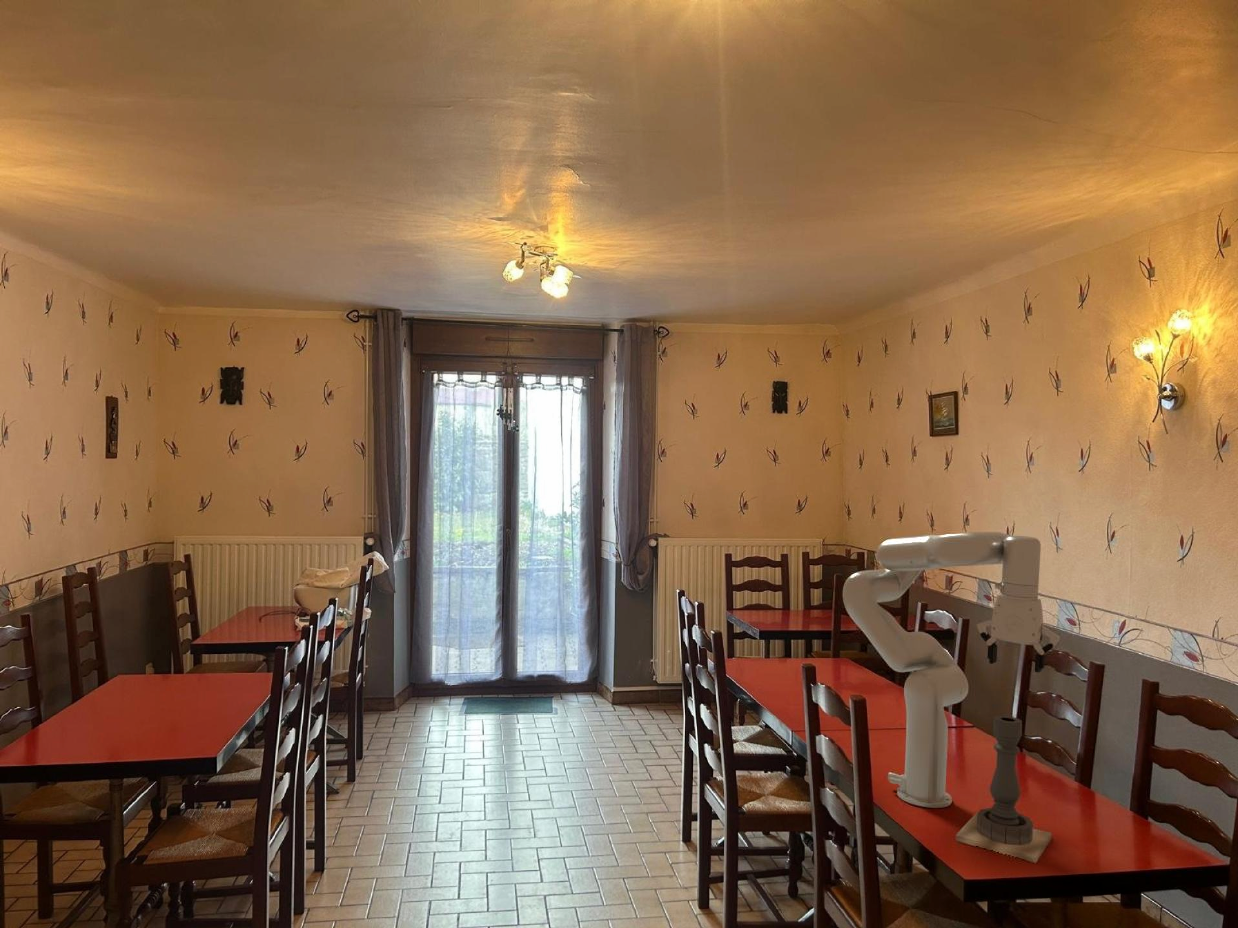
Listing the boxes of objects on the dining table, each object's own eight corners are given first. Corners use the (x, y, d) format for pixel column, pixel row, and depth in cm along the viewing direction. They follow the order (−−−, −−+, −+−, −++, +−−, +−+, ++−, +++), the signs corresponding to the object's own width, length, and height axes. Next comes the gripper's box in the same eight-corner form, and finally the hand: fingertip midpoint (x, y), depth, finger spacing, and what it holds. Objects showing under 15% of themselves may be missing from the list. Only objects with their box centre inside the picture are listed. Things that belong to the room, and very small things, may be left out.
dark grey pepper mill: (992, 825, 193) (997, 713, 194) (1022, 833, 190) (1026, 719, 190) (984, 833, 189) (988, 719, 189) (1014, 842, 185) (1019, 725, 185)
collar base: (955, 840, 187) (956, 818, 187) (975, 818, 200) (976, 797, 200) (1036, 863, 178) (1037, 840, 178) (1051, 838, 191) (1052, 817, 191)
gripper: (974, 587, 197) (970, 662, 197) (1057, 598, 186) (1052, 677, 186) (985, 584, 202) (980, 657, 203) (1065, 595, 191) (1061, 672, 191)
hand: (1015, 666), depth 194 cm, fingers open, 9 cm apart
